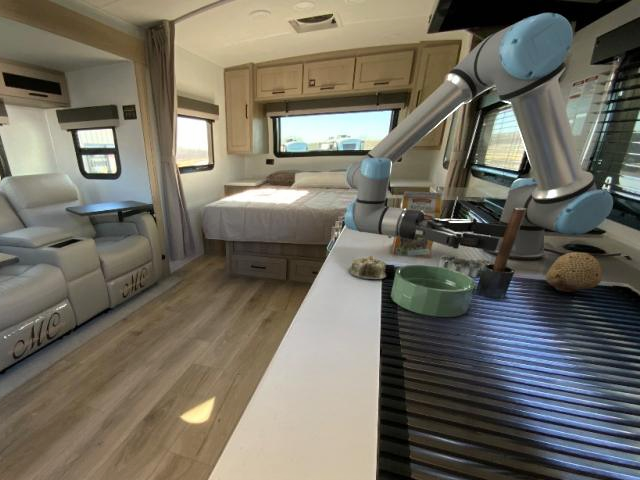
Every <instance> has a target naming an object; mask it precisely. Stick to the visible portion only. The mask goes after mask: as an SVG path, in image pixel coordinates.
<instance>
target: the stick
mask: <svg viewBox="0 0 640 480" xmlns="http://www.w3.org/2000/svg"><path fill="white" fill-rule="evenodd" d="M526 210H527V209H525V208H513V211H512V214H511V217H510V220H509V223H508V226H507V229H506V231H505V234H504V237H503V240H502V243H501V246H500V249H499V252H498V254H497V255H496V257H495V261H494V263H493V264H494V266H493V269H492V270H494V271H500V272H504V270H505V267H506V266H507V265H508V261H509V259H510V258H509V256H510V253H511V251H512V248H513V245H514V242H515V240H516V237H517V234H518V231H519V229H520V226H521V223H522V221H523V218H524V215H525V212H526Z"/></svg>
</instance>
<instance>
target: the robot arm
mask: <svg viewBox="0 0 640 480" xmlns="http://www.w3.org/2000/svg"><path fill="white" fill-rule="evenodd" d="M573 31H574V30H573V27H572V25H571V24H570V22H569V20H568V19H567V18H566V17H564V16H563V15H561V14H559V13H554V12H543V13H540V14H537V15H531V16H528V17H525V18H523V19H522V20H520V21H518V22H515V23H514V24H512V25H509V26H507V27H506V28H503V29H501V30H499V31H495V32H494V33H492V34H491V35H489V36H487V37H486V38H484V39H483V40H482V41H481V42H480V43H478V44H477V45H476V46H475V47H474V48H473V49H472V50H471V51H470V52H468V54H467V55H465V57H463V59H462V60H460V61H459V62H458V63H457V64H456V65H455V66H454V67H453V68H452V69H451V70H450V71H449V72H448V73H447V74H446V75H445V76H444V78H443V79H444V80H443V83H442V84H441V85H440V86H438V87H437V88H436V89H435V90H434V91H433V92H432V93H431V94H430V95H429V96H428V97H427V98H425V100H423V101H422V102H421V103H420V104H418V106H417V107H416V108H414V110H413V111H412V112H410V114H408V115H407V116H406V117H405V118H404V119H403V120H401V122H399V124H398V125H396V127H394V128H393V129H392V130H391V131H390V132H389V133H388V134H387V135H386V136H384V138H382V139H381V140H380V141H379V142H378V143H377V144H376V145H375V146H374V147H373V148H372V149H371V150H370V151H368V153H367V154H365V155H364V156H363V157H362V158H361V159H360V160H359V161H355V162H354V163H352V164H350V165H349V166H348V167H347V169H346V171H345V181H346V183H347V184H348V185H349V187H350V188H352V189H355V190H357V195H356V200H355V202H353V203H350V204H349V205H348V207H347V208H346V210H345V211H346V212H345V213H344V219H343V220H344V225H345V227H346V228H347V229H349V230H353V231H357V232H360V233H366V234H367V233H368V234H373V235H374V234H375V235H380V236H387V239H392V237H393V238H394V237H399V236H400V237H401V238H402V239H408V240H416V239H417V238H423V239H427V240H430V241H433V243H436V244H440V245H443V246H447V247H450V248H452V249H455V250H458V249H459V246H461V247H467V248H473V249H480V250H484V251H485V252H487V253H488V254H492V255H494V256H497V254H498V252H499V249H500V246H501V243H502V240H503V237H504V234H505V231H506V229H507V226H508V223H509V220H510V217H511V214H512V211H513V208H525V209H527V210H526V212H525V215H524V218H523V221H522V223H521V226H520V229H519V231H518V234H517V237H516V240H515V242H514V245H513V248H512V251H511V253H510V256H509V259H513V260H522V261H533V260H539V259H540V260H541V259H542V257H543V256H544V253H545V252H548V253H553V254H556V255H560V256H562V255H565V254H567V253H568V252H562V251H557V250H554V249H550V248H545V230H548V231H553V232H555V233H557V234H561V235H567V236H568V235H569V236H579V235H583V234H586V233H588V232H591V231H592V230H594V229H596V228H597V227H598V226H600V225H601V224H602V223H603V222H604V221H605V220H606V218H607V217H609V215H610V214H611V212H612V209H613V206H614V199H613V196H612V195H611V193H609V192H607V191H606V190H604V189H598V188H597V185H596V182H595V178H594V174H593V173H591V172H589V171H585V170H583V168H582V164H581V161H580V157H579V153H578V149H577V145H576V143H575V138H574V134H573V131H572V127H571V123H570V119H569V116H568V112H567V108H566V104H565V101H564V97H563V93H562V89H561V86H560V81H559V79H560V77H561V76H562V75H563V73H564V71H565V70H566V65H565V60H566V58H567V57H568V55H569V53H570V52H569V49H571V48H572V45H573V42H574V41H573V40H574V32H573ZM492 88H495V89H496V92H497V94H498V97H499V101H500V102H503V103H507V104H509V105H510V107H511V109H512V113H513V115H514V119H515V122H516V125H517V128H518V132H519V134H520V138H521V141H522V143H523V147H524V150H525V153H526V156H527V159H528V162H529V165H530V168H531V171H532V175H533V177H532V178H517V179H515V180H514V181H512V184H511V185H510V188H509V190H508V192H507V197H506V200H505V203H504V205H503V208H502V212H501V215H500V218H499V222H498V224H495V223H487V222H480V221H478V218H474V217H473V218H472V219H463V218H461V219H460V218H440V217H439V218H435V217H433V218H432V219H431V220H425V219H424V212H423V211H419V210H408V211H407V210H406V209H404V208H400V207H392V206H385V205H386V201H387V195H388V189H389V184H390V179H391V175H392V166H393V165H394V164H396V163H397V162H398V161H399V160H400V159H401V158H403V156H405V155H406V154H407V153H408V152H409V151H410V150H411V149H412V148H413V147H415V146H416V145H417V144H418V143H420V141H422V140H423V139H424V138H425V137H426V136H427V135H429V133H431V132H432V131H433V130H434V129H435V128H437V126H438V125H440V124H441V123H442V122H443V121H444V120H446V119H447V118H448V117H449V116H450V115H452V113H454V112H455V111H456V110H457V109H458V108H459V107H461V106H462V105H466V104H469V103H470V102H471V101H473V100H474V99H475V98H477V96H479V95H481V94H482V93H485V92H486V91H488V90H490V89H492ZM572 252H573V251H572ZM572 252H569V253H572ZM576 252H577V253H585V252H583V251H581V252H580V251H576ZM586 253H587V254H590V255H591V256H593V257H600V258H601V257H603V258H609V257H621V256H620V255H621V253H622V252H621V253H620V252H619V253H608V254H607V253H605V254H601V253H594V252H593V253H591V252H586ZM623 257H624V258H626V259H627V260H632V257H631V256H630V255H628V256H623Z"/></svg>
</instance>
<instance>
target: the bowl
mask: <svg viewBox="0 0 640 480" xmlns="http://www.w3.org/2000/svg"><path fill="white" fill-rule="evenodd" d="M476 288H477V282H476V281H475V280H474V279H473V277H470V276H468V275H465V274H463V273H461V272H458V271H455V270H452V269H448V268H443V267H439V265H430V264H408V265H407V264H406V265H402V266H400V267H398V268H397V269H396V270H395V274H394V278H393V283H392V288H391V292H390V297H391V300H392V301H393V302H394V303H395V304H397V306H399V307H402V308H404V309H405V310H408V311H410V312H413V313H415V314H420V315H423V316H430V317H435V318H436V317H438V318H453V317H454V318H455V317H459V316H463V315H465V314H466V313H467V312H468V310H469V308H470V305H471V302H472V299H473V296H474V293H475V291H476Z"/></svg>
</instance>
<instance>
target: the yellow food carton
mask: <svg viewBox="0 0 640 480" xmlns="http://www.w3.org/2000/svg"><path fill="white" fill-rule="evenodd" d="M442 196H443V193H442V192H432V191H431V192H430V191H428V192H427V191H404V192H403V196H402V198H401V202H400V206H399V208H404V209H406V210H407V211H408V210H419V211H423V212H424V219H425V220H431V219H432V218H433V217H435V218H440V216H441V211H442ZM433 245H434V242H433V241H430V240H427V239H423V238H417V239H416V240H408V239H402V238H401V237H400V236H399V237H393V242H392V255H397V256H406V257H416V258H417V257H418V258H426V259H429V258H430V256H431V252H432V248H433Z"/></svg>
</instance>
